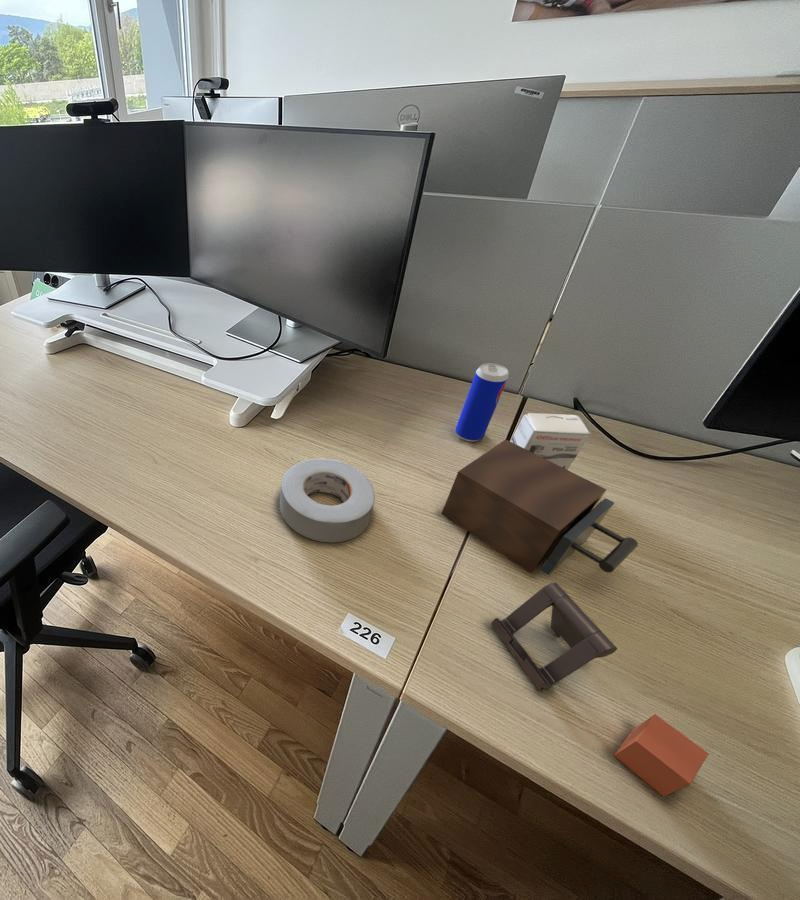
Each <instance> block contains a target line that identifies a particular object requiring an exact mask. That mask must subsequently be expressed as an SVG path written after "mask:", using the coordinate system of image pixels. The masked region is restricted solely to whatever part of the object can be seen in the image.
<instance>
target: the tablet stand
mask: <svg viewBox="0 0 800 900" xmlns="http://www.w3.org/2000/svg"><path fill="white" fill-rule="evenodd" d="M550 607H552V608H551V616H550V629H551V630H552V632H553V633H554V634H555V635H556V637H558V638H560V637H561V638H562V639H563V641H564V642H565V643H566V644H567V645H568V647H569V649H568V650H566V651H565V652H563V653H562V654H561V655H559V656H558V657H556V658H555V659H553V660H551V661H550V662H549V663H547V664H546V665H544V666H542V667H540V668H539V667H538V666H537V665H536V663H535V662H534V660H533V659H532V658H531V657H530V655H529V654H528V652H527V651H526V650H525V648H523V646H522V645H521V643H520V642H519V641H518V640H517V638H516V637H515V636H514V634H515V633H517V632H518V631H520V630H521V629H522V628H523V627H524V626H526V625H527V624H528V623H530V622H531V621H532V620H534V619H535V618H536V617H538V616H539V615H540V614H541V613H543V612H544V611H545V610H546V609H548V608H550ZM490 626H491V627H492V629H493V630H494V631H495V632H496V634H497V635H498V636H499V638H500V639H501V640H502V642H503V643H504V645H505V646H506V648H507V649H508V651H509V652H510V653H511V655H513V657H514V658H515V660H516V661H517V662H518V664H519V665H520V667H521V668H522V670H524V672H525V673H526V675H527V676H528V677H529V679H530V680H531V681H532V683H533V684H534V685H535V687H536V688H537V689H538V690H539V691H544V690H547V689H550V688H551V687H553V686H554V685H556V684H558V683H559V682H561V681H562V680H563V679H565V678H567V677H568V676H571V674H573V673H575V672H576V671H578V670H579V669H580V668H582V667H584V666H585V665H587V664H588V663H590V662H592V661H593V660H595V659H600V658H604V657H605V658H606V657H608V656H610V655H612V654H614V653H615V652H617V650H618V647H617V646H616V645H615V644H614V642H612V641H611V639H610V638H608V636H607V635H606V634H605V633H604V632H603V631H602V629H600V627H598V625H597V624H596V623H595V622H594V621H593V620H592V619H591V618H590V617H589V616H588V615H587V613H586V612H585V611H584V610H583V609H582V608H581V607H580V606H579V605H578V604H577V602H575V601H574V599H572V598H571V597H570V595H569V594H568V593H567V592H566V591H565V590H564V589H563V587H562V586H560V585H559V584H558V582H555V581H554V582H550V583H547V584H546V585H544V586H543V587H542V588H541V589H539V590H538V591H537V592H535V593H534V594H533V595H532V596H530V598H528V599H527V600H526V601H524V602H523V603H522V604H521V605H520V606H518V607H517V608H516V609H515V610H514V611H512V612H511V613H510V614H508V615H507V617H505V618H503V619H502V620H500V619H499V618H498V617H497V618H494V619H493V620H492V621H491V622H490Z"/></svg>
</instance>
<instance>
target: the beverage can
mask: <svg viewBox="0 0 800 900" xmlns="http://www.w3.org/2000/svg"><path fill="white" fill-rule="evenodd" d="M508 379H509V369H507V367H505V366H503V365H501V364H498V363H491V362H490V363H482V364H481V365H480V366H479V367H478V368H477V369H476V371H475V374H474V377H473V379H472V382H471V385H470V388H469V390H468V393H467V396H466V399H465V401H464V404H463V407H462V409H461V411H460V414H459V415H460V416H459V417H458V421H457V423H456V425H455V434H456V436H458V438H460V439H461V440H463V441H465V442H478V441H480V440H482V439H483V438H484V437H485V434H486V432H487V430H488V427H489V425H490V422H491V420H492V417H493V415H494V413H495V410H496V408H497V405H498V403H499V401H500V398H501V396H502V394H503V392H504V388H505V386H506V384H507V382H508Z"/></svg>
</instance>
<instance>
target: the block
mask: <svg viewBox="0 0 800 900" xmlns="http://www.w3.org/2000/svg"><path fill="white" fill-rule="evenodd" d="M613 756H614V757H615V758H616V759H617V760H619V761H620V762H621V763H622V764H623V765H625V767H627V768H628V769H630V770H631V771H632V772H633V773H634V774H636V776H638V777H640V779H641V780H643V781H644V782H645V783H646V784H648V785H649V786H650V787H651V788H653V789H654V790H655V791H656V792H657V793H658V794H660V795H661V796H662V797H665V796H668V795H670V794H672V793H674V792H677V791H678V790H681V789H682V788H684V787H687V786H689V785H691V783H692V782H693V780H694V779H695V778H696V776H697V774H698V772H699V771H700V769H701V768H702V765H703V764H704V763H705V761H706V759H707V758H708V756H710V755H709V752H707V751H706V750H704V749H703V748H702V747H701V746H700V745H699V744H697V743H695V742H694V741H693V740H691V739H690V738H688V737H687V736H686V735H684V734H683V733H682V732H680V731H679V729H676V728H675V727H674V726H672V725H671V724H670V723H668V722H667V721H666V720H664V719H663V718H662V717H660V716H659V715H657V714H656V713H654V714H653V715H652V716H650V717H649V718H648V719H646V720H645V721H643V722H642V723H640V724H638V725H637V726H636V727H634V728H633V729H632V730H631V731H630V732H629V734H628V736H627V737H626V738H625V740H624V741H623V742H622V743H621V745H620V746H619V748H618V749H617V750H616V752H615V753H614V755H613Z"/></svg>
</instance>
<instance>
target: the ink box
mask: <svg viewBox="0 0 800 900" xmlns="http://www.w3.org/2000/svg"><path fill="white" fill-rule="evenodd" d="M591 435H592V432H591V429H590V428H589V426H588V424H587V423H586V422H585V421H584V420H583V418H582V417H581V416H579V415H577V414H565V413H564V414H563V413H562V414H561V413H542V412H528V413H527V414H523V416H522V418H521V420H520V421H519V424H518V426H517V428H516V430H515V431H514V433H513V435H512V438H511V439H510V442H512V443H514V444H516V445H518V446H520V447H522V448H524V449H526V450H528V451H530V452H532V453H534V454H536V455H538V456H540V457H542V458H544V459H546V460H548V461H550V462H552V463H554V464H556V465H558V466H560V467H562V468H564V469H566V470H568V471H569V468H570V467H571V465H572V464H573V463H574V461H575V460H576V457H578V454H579V453H580V451H581V450H582V449H583V447H584V445H585V444H586V442H587V441H588V439H589V438H590V436H591Z"/></svg>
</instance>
